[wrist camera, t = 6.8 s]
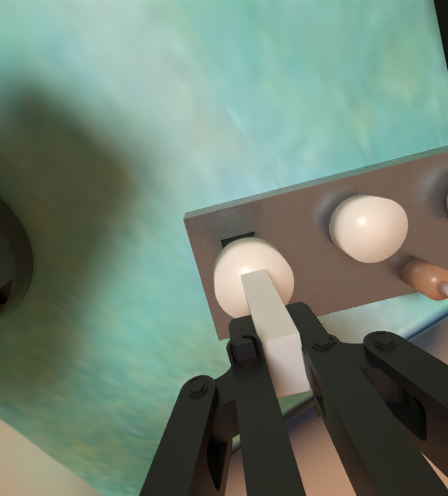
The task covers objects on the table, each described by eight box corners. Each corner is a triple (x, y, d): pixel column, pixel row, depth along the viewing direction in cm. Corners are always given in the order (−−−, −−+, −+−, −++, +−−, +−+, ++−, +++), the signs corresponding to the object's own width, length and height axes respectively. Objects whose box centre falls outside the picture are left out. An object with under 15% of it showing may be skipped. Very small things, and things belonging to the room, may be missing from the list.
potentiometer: (402, 288, 26) (445, 316, 22) (401, 262, 26) (445, 286, 21) (430, 281, 26) (479, 308, 22) (429, 255, 26) (480, 277, 21)
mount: (217, 323, 30) (219, 340, 27) (185, 212, 26) (183, 219, 23) (482, 257, 29) (512, 267, 26) (486, 135, 26) (520, 132, 23)
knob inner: (221, 292, 24) (225, 329, 19) (205, 236, 22) (205, 259, 17) (279, 277, 24) (300, 311, 18) (267, 220, 22) (286, 239, 17)
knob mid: (319, 248, 27) (346, 269, 22) (312, 198, 26) (338, 207, 21) (370, 236, 27) (409, 254, 22) (365, 184, 26) (406, 190, 21)
